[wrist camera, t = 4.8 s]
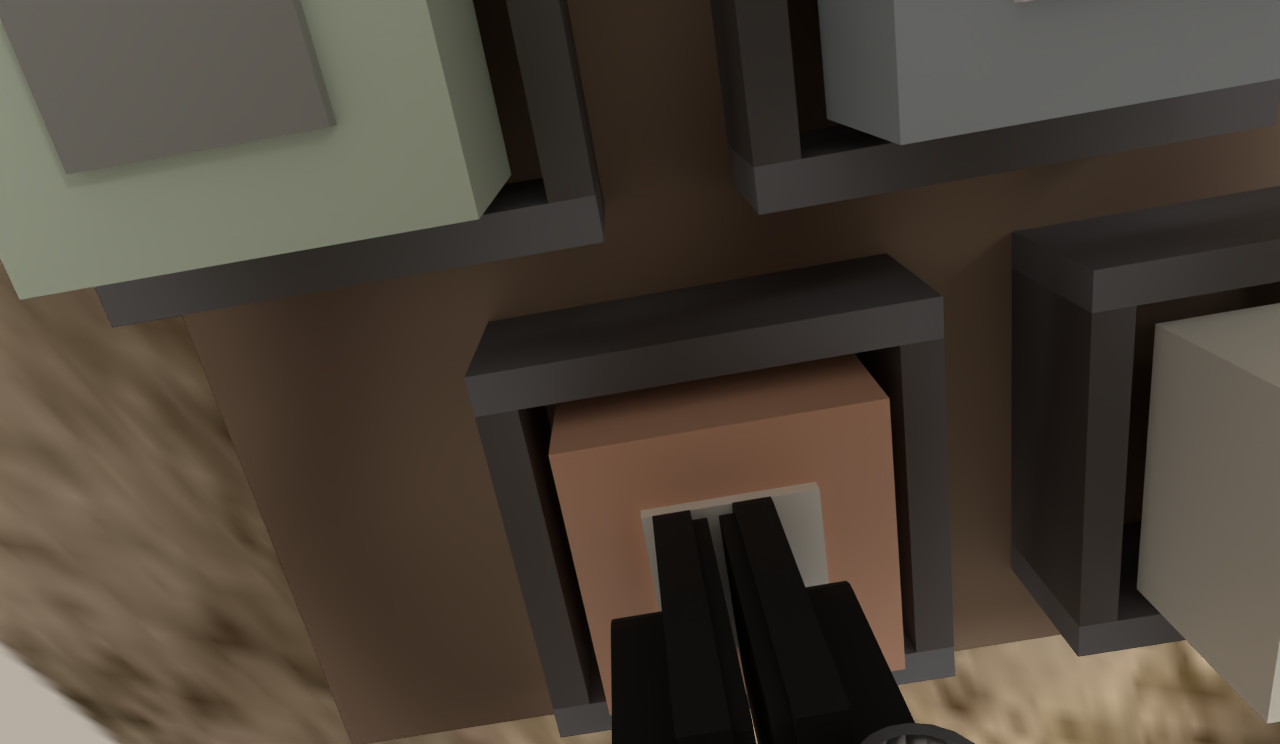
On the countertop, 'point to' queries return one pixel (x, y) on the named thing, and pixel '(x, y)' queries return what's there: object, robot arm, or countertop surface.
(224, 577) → the countertop surface
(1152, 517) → the ivory key
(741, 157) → the keypad
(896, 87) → the slate key
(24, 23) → the sage key
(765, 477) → the terracotta key
